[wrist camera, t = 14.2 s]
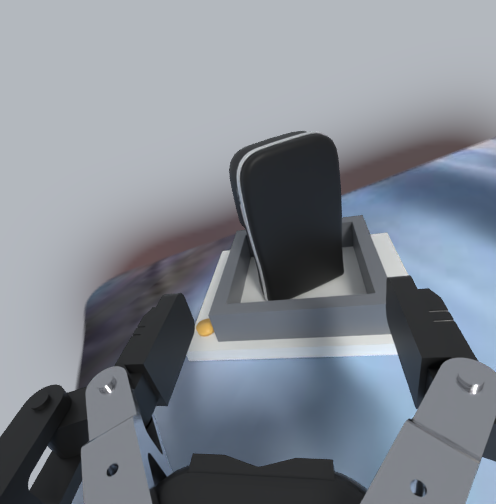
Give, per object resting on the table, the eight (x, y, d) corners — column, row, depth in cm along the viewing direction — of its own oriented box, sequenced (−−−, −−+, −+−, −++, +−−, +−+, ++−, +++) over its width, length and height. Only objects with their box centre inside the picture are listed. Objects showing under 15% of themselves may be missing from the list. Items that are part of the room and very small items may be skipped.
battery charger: (321, 255, 28) (307, 121, 22) (348, 275, 25) (340, 125, 19) (251, 285, 26) (215, 149, 20) (270, 311, 23) (235, 159, 17)
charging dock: (386, 241, 29) (387, 208, 27) (440, 353, 18) (446, 309, 17) (224, 259, 33) (216, 230, 31) (189, 361, 22) (172, 325, 20)
